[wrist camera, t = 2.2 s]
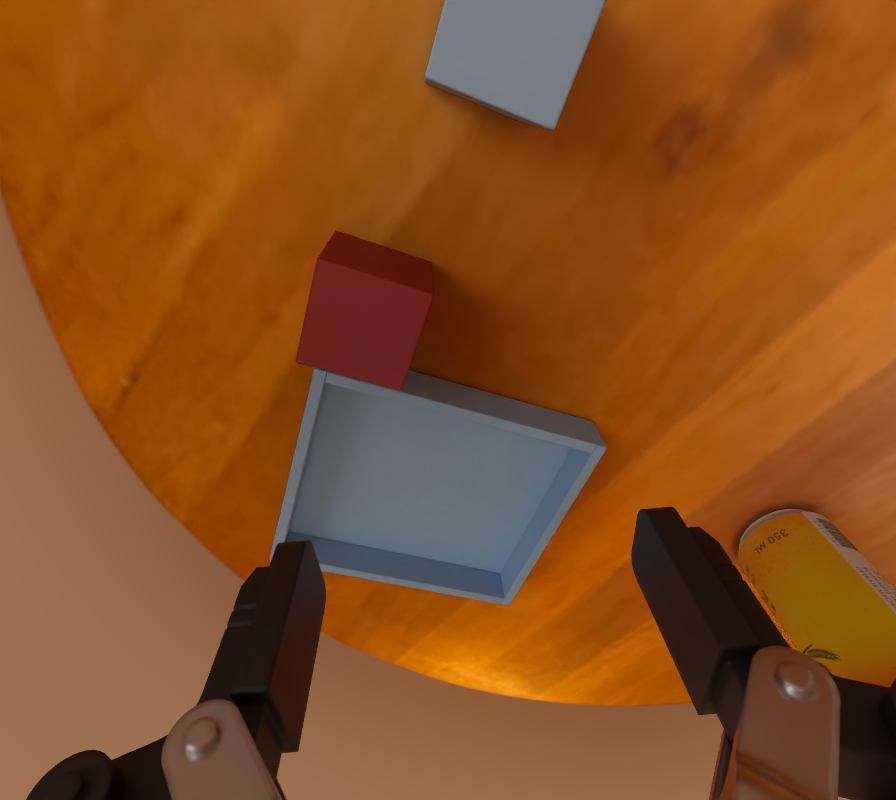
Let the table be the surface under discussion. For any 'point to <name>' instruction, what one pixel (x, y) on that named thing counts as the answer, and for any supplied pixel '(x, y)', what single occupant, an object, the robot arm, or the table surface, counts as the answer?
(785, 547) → the beer can
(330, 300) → the burgundy block
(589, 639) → the table surface
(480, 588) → the blue tray
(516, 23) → the blue block
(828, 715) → the robot arm
